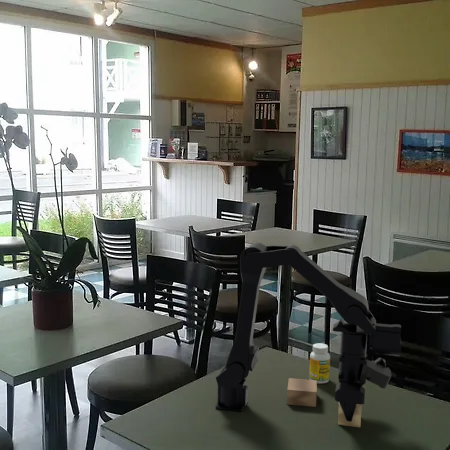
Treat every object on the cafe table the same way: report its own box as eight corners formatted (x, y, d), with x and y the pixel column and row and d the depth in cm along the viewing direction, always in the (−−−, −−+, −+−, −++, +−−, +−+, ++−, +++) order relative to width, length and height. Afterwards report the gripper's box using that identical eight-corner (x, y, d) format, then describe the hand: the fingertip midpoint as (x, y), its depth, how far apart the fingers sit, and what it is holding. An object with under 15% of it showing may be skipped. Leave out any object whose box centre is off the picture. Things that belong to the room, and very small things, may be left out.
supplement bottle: (319, 374, 159) (321, 340, 157) (333, 381, 154) (335, 346, 153) (304, 378, 156) (306, 344, 154) (318, 385, 151) (320, 350, 150)
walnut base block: (286, 405, 140) (287, 389, 140) (288, 392, 147) (288, 378, 147) (315, 407, 139) (316, 392, 139) (316, 395, 146) (316, 380, 146)
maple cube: (337, 424, 131) (338, 403, 130) (339, 414, 136) (340, 394, 135) (360, 427, 130) (361, 406, 129) (361, 417, 134) (362, 397, 134)
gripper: (391, 370, 119) (386, 441, 121) (389, 340, 137) (385, 402, 139) (336, 364, 122) (333, 433, 124) (341, 335, 140) (338, 396, 142)
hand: (349, 415), depth 132 cm, fingers closed on maple cube, 5 cm apart
